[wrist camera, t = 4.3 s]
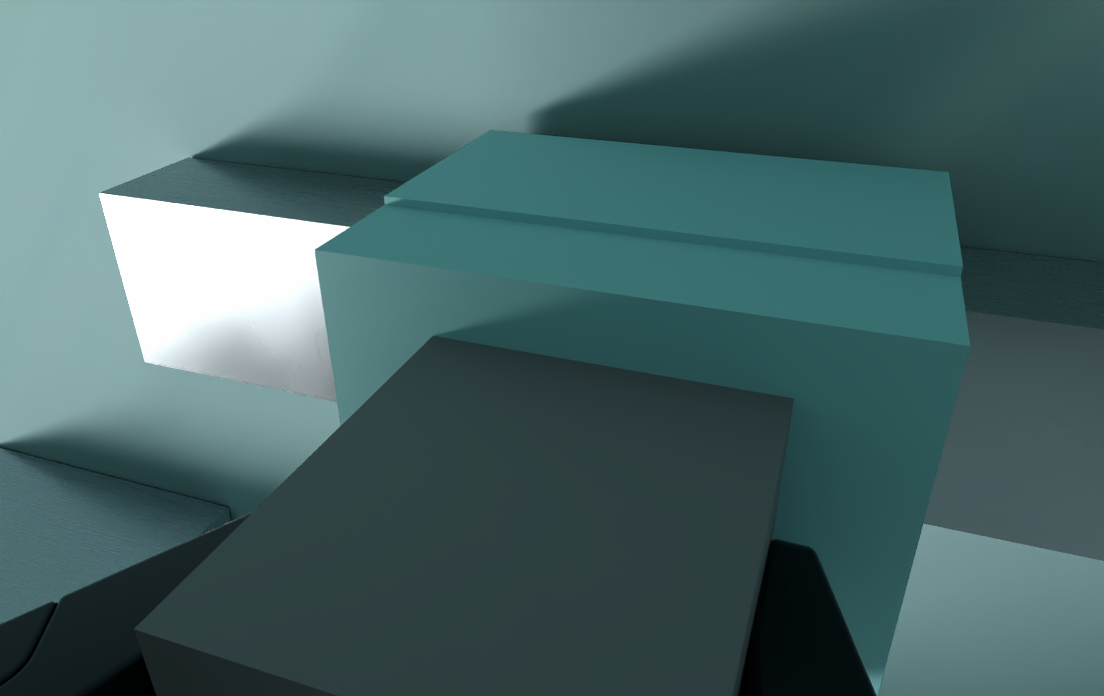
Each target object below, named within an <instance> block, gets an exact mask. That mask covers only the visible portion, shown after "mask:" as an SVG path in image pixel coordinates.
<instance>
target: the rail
mask: <svg viewBox="0 0 1104 696" xmlns="http://www.w3.org/2000/svg"><path fill="white" fill-rule="evenodd" d="M404 183H405V182H396V181H388V180H379V179H370V178H362V177H353V176H344V175H336V174H327V173H318V172H309V171H301V170H292V169H283V168H275V167H266V166H257V165H249V164H240V163H231V162H223V161H214V160H205V159H197V158H186V159H184V160H181V161H179V162H176V163H174V164H171V165H169V166H166V167H164V168H161V169H159V170H156V171H153V172H151V173H148V174H146V175H143V176H141V177H138V178H136V179H133V180H131V181H128V182H126V183H123V184H121V185H118V186H116V187H113V188H111V189H108V190H106V191H103V192H101V193H99V195H100V199H101V203H102V206H103V210H104V214H105V217H106V221H107V225H108V228H109V232H110V236H111V239H112V243H113V247H114V250H115V254H116V258H117V261H118V265H119V269H120V272H121V276H122V280H123V283H124V287H125V291H126V294H127V298H128V302H129V305H130V309H131V313H132V316H133V320H134V324H135V327H136V331H137V335H138V338H139V342H140V346H141V349H142V353H143V357H144V360H145V362H147V363H152V364H157V365H162V366H166V367H171V368H176V369H181V370H186V371H191V372H195V373H200V374H205V375H210V376H215V377H219V378H224V379H229V380H234V381H239V382H244V383H248V384H253V385H258V386H263V387H268V388H273V389H277V390H282V391H287V392H292V393H297V394H302V395H306V396H311V397H316V398H321V399H326V400H331V401H335V402H337V397H336V391H335V384H334V378H333V371H332V364H331V358H330V351H329V344H328V338H327V331H326V324H325V318H324V311H323V304H322V298H321V291H320V284H319V278H318V271H317V265H316V258H315V251H314V250H315V249H316V248H318V247H319V246H321V245H322V244H324V243H326V242H327V241H329V240H330V239H332V238H333V237H335V236H337V235H338V234H340V233H341V232H343V231H344V230H346V229H347V228H349V227H351V226H352V225H354V224H355V223H357V222H358V221H360V220H362V219H363V218H365V217H366V216H368V215H369V214H371V213H373V212H374V211H376V210H377V209H379V208H380V207H382V206H384V205H385V203H384V196H385V195H387V194H388V193H390V192H391V191H393V190H395V189H396V188H398V187H400V186H401V185H403V184H404ZM960 249H961V256H962V263H963V269H962V273H961V283H962V290H963V297H964V305H965V312H966V319H967V326H968V333H969V340H970V349H969V353H968V357H967V360H966V364H965V368H964V372H963V376H962V379H961V383H960V387H959V391H958V394H957V398H956V402H955V406H954V409H953V413H952V417H951V421H950V424H949V428H948V432H947V436H946V439H945V443H944V447H943V451H942V455H941V458H940V462H939V466H938V470H937V473H936V477H935V481H934V485H933V488H932V492H931V496H930V500H929V503H928V507H927V511H926V515H925V518H924V522H923V523H924V524H929V525H934V526H939V527H944V528H948V529H953V530H958V531H963V532H968V533H973V534H977V535H982V536H987V537H992V538H997V539H1001V540H1006V541H1011V542H1016V543H1021V544H1026V545H1030V546H1035V547H1040V548H1045V549H1050V550H1055V551H1059V552H1064V553H1069V554H1074V555H1079V556H1084V557H1088V558H1093V559H1098V560H1103V561H1104V263H1100V262H1091V261H1083V260H1074V259H1065V258H1056V257H1048V256H1039V255H1030V254H1022V253H1013V252H1004V251H996V250H987V249H978V248H970V247H961V246H960Z"/></svg>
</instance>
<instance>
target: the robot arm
mask: <svg viewBox="0 0 1104 696" xmlns="http://www.w3.org/2000/svg"><path fill="white" fill-rule="evenodd" d="M253 512H254V511H253ZM253 512H251V513H248V514H246V515H244V516H242V517H239V518H237V519H235V520H233V521H230V522H228V523H226V524H224V525H221V526H219V527H217V528H215V529H213V530H210V531H208V532H206V533H204V534H201V535H199V536H197V537H195V538H192V539H190V540H188V541H186V542H183V543H181V544H179V545H177V546H174V547H172V548H170V549H168V550H165V551H163V552H161V553H159V554H156V555H154V556H152V557H150V558H147V559H145V560H143V561H141V562H138V563H136V564H134V565H132V566H129V567H127V568H125V569H123V570H121V571H118V572H116V573H114V574H112V575H109V576H107V577H105V578H103V579H100V580H98V581H96V582H94V583H91V584H89V585H87V586H85V587H82V588H80V589H78V590H76V591H73V592H71V593H69V594H67V595H64V596H63V597H61V599H60V600H59V602H56V601H51V602H48V603H46V604H44V605H42V606H39V607H37V608H35V609H33V610H31V611H28V612H26V613H24V614H22V615H19V616H17V617H15V618H13V619H10V620H8V621H6V622H3V623H1V624H0V696H156V693H155V690H154V687H153V684H152V681H151V678H150V675H149V673H148V670H147V667H146V664H145V661H144V658H143V655H142V652H141V649H140V646H139V643H138V640H137V637H136V634H135V631H134V628H135V627H136V626H137V625H138V624H139V623H141V622H142V621H143V620H144V619H145V618H146V617H147V616H148V615H149V614H150V613H151V612H152V611H153V610H154V609H155V608H156V607H157V606H158V605H159V604H160V603H161V602H162V601H163V600H164V599H165V598H166V597H167V596H168V595H169V594H170V593H171V592H172V591H173V590H174V589H175V588H176V587H177V586H178V585H179V584H180V583H181V582H182V581H183V580H184V579H185V578H186V577H187V576H188V575H189V574H190V573H191V572H192V571H194V570H195V569H196V568H197V567H198V566H199V565H200V564H201V563H202V562H203V561H204V560H205V559H206V558H207V557H208V556H209V555H210V554H211V553H212V552H213V551H214V550H215V549H216V548H217V547H218V546H219V545H220V544H221V543H222V542H223V541H224V540H225V539H226V538H227V537H228V536H229V535H230V534H231V533H232V532H233V531H234V530H235V529H236V528H237V527H238V526H239V525H240V524H241V523H242V522H243V521H244V520H245V519H247V518H248V517H249V516H250V515H251V514H252V513H253ZM741 696H877V695H876V692H875V690H874V688H873V685H872V683H871V681H870V678H869V676H868V673H867V671H866V669H865V666H864V664H863V662H862V659H861V657H860V655H859V652H858V650H857V647H856V645H855V643H854V640H853V638H852V636H851V633H850V631H849V628H848V626H847V624H846V621H845V619H844V617H843V614H842V612H841V609H840V607H839V605H838V602H837V600H836V598H835V595H834V593H833V591H832V588H831V586H830V583H829V581H828V579H827V576H826V574H825V572H824V569H823V567H822V564H821V562H820V560H819V557H818V555H817V553H816V552H815V550H814V549H812V548H811V547H809V546H805V545H800V544H796V543H792V542H787V541H783V540H778V539H773V540H771V541H770V545H769V550H768V555H767V559H766V564H765V569H764V574H763V578H762V583H761V588H760V592H759V597H758V602H757V606H756V611H755V616H754V621H753V625H752V630H751V635H750V640H749V646H748V652H747V659H746V665H745V672H744V678H743V685H742V692H741Z"/></svg>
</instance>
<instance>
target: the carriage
mask: <svg viewBox="0 0 1104 696" xmlns="http://www.w3.org/2000/svg"><path fill="white" fill-rule="evenodd" d="M384 203H385V205H384V206H382V207H380V208H379V209H377V210H376V211H374V212H373V213H371V214H369V215H368V216H366V217H365V218H363V219H362V220H360V221H358V222H357V223H355V224H354V225H352V226H351V227H349V228H347V229H346V230H344V231H343V232H341V233H340V234H338V235H337V236H335V237H333V238H332V239H330V240H329V241H327V242H326V243H324V244H322V245H321V246H319V247H318V248H316V249H315V250H314V251H315V258H316V265H317V271H318V278H319V284H320V291H321V298H322V304H323V311H324V318H325V324H326V331H327V338H328V344H329V351H330V358H331V364H332V371H333V378H334V384H335V391H336V397H337V404H338V411H339V417H340V424H341V426H340V427H339V428H338V429H337V430H336V431H335V432H334V433H333V434H332V435H331V436H330V437H329V438H328V439H327V440H326V441H325V442H324V443H323V444H322V445H321V446H320V447H319V448H318V449H317V450H316V451H315V452H314V453H313V454H312V455H311V456H310V457H309V458H308V459H307V460H306V461H305V462H304V463H303V464H302V465H301V466H300V467H299V468H297V469H296V470H295V471H294V472H293V473H292V474H291V475H290V476H289V477H288V478H287V479H286V480H285V481H284V482H283V483H282V484H281V485H280V486H279V487H278V488H277V489H276V490H275V491H274V492H273V493H272V494H271V495H270V496H269V497H268V498H267V499H266V500H265V501H264V502H263V503H262V504H261V505H260V506H259V507H258V508H257V509H256V510H255V511H254V512H253V513H252V514H251V515H250V516H249V517H248V518H247V519H245V520H244V521H243V522H242V523H241V524H240V525H239V526H238V527H237V528H236V529H235V530H234V531H233V532H232V533H231V534H230V535H229V536H228V537H227V538H226V539H225V540H224V541H223V542H222V543H221V544H220V545H219V546H218V547H217V548H216V549H215V550H214V551H213V552H212V553H211V554H210V555H209V556H208V557H207V558H206V559H205V560H204V561H203V562H202V563H201V564H200V565H199V566H198V567H197V568H196V569H195V570H194V571H192V572H191V573H190V574H189V575H188V576H187V577H186V578H185V579H184V580H183V581H182V582H181V583H180V584H179V585H178V586H177V587H176V588H175V589H174V590H173V591H172V592H171V593H170V594H169V595H168V596H167V597H166V598H165V599H164V600H163V601H162V602H161V603H160V604H159V605H158V606H157V607H156V608H155V609H154V610H153V611H152V612H151V613H150V614H149V615H148V616H147V617H146V618H145V619H144V620H143V621H142V622H141V623H139V624H138V625H137V626H136V627H135V628H134V631H135V634H136V637H137V640H138V643H139V646H140V649H141V652H142V655H143V658H144V661H145V664H146V667H147V670H148V673H149V675H150V678H151V681H152V684H153V687H154V690H155V693H156V696H741V692H742V685H743V678H744V672H745V665H746V659H747V652H748V646H749V640H750V635H751V630H752V625H753V621H754V616H755V611H756V606H757V602H758V597H759V592H760V588H761V583H762V578H763V574H764V569H765V564H766V559H767V555H768V550H769V545H770V541H771V540H773V539H778V540H783V541H787V542H792V543H796V544H800V545H805V546H809V547H811V548H812V549H814V550H815V552H816V553H817V555H818V557H819V560H820V562H821V564H822V567H823V569H824V572H825V574H826V576H827V579H828V581H829V583H830V586H831V588H832V591H833V593H834V595H835V598H836V600H837V602H838V605H839V607H840V609H841V612H842V614H843V617H844V619H845V621H846V624H847V626H848V628H849V631H850V633H851V636H852V638H853V640H854V643H855V645H856V647H857V650H858V652H859V655H860V657H861V659H862V662H863V664H864V666H865V669H866V671H867V673H868V676H869V678H870V681H871V683H872V685H873V688H874V690H875V692H876V695H878V692H879V688H880V684H881V680H882V676H883V673H884V669H885V665H886V661H887V658H888V654H889V650H890V646H891V643H892V639H893V635H894V631H895V628H896V624H897V620H898V616H899V613H900V609H901V605H902V601H903V597H904V594H905V590H906V586H907V582H908V579H909V575H910V571H911V567H912V564H913V560H914V556H915V552H916V549H917V545H918V541H919V537H920V534H921V530H922V526H923V522H924V518H925V515H926V511H927V507H928V503H929V500H930V496H931V492H932V488H933V485H934V481H935V477H936V473H937V470H938V466H939V462H940V458H941V455H942V451H943V447H944V443H945V439H946V436H947V432H948V428H949V424H950V421H951V417H952V413H953V409H954V406H955V402H956V398H957V394H958V391H959V387H960V383H961V379H962V376H963V372H964V368H965V364H966V360H967V357H968V353H969V349H970V340H969V333H968V326H967V319H966V312H965V305H964V297H963V290H962V283H961V273H962V269H963V263H962V256H961V249H960V243H959V236H958V229H957V223H956V216H955V210H954V203H953V196H952V190H951V183H950V176H949V172H942V171H931V170H920V169H909V168H898V167H888V166H877V165H866V164H855V163H844V162H833V161H822V160H811V159H800V158H789V157H778V156H767V155H756V154H745V153H734V152H723V151H713V150H702V149H691V148H680V147H669V146H658V145H647V144H636V143H625V142H614V141H603V140H592V139H581V138H570V137H559V136H548V135H538V134H527V133H516V132H505V131H494V130H490V131H488V132H487V133H485V134H483V135H482V136H480V137H479V138H477V139H475V140H474V141H472V142H470V143H469V144H467V145H466V146H464V147H462V148H461V149H459V150H458V151H456V152H454V153H453V154H451V155H450V156H448V157H446V158H445V159H443V160H441V161H440V162H438V163H437V164H435V165H433V166H432V167H430V168H429V169H427V170H425V171H424V172H422V173H420V174H419V175H417V176H416V177H414V178H412V179H411V180H409V181H408V182H406V183H404V184H403V185H401V186H400V187H398V188H396V189H395V190H393V191H391V192H390V193H388V194H387V195H385V196H384Z"/></svg>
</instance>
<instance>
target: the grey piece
mask: <svg viewBox="0 0 1104 696" xmlns="http://www.w3.org/2000/svg"><path fill="white" fill-rule="evenodd" d="M230 521H231V517H230V513H229V509H228V507H225V506H221V505H217V504H214V503H210V502H206V501H202V500H198V499H194V498H191V497H187V496H183V495H179V494H175V493H172V492H168V491H164V490H160V489H156V488H152V487H149V486H145V485H141V484H137V483H133V482H129V481H126V480H122V479H118V478H114V477H110V476H106V475H103V474H99V473H95V472H91V471H87V470H84V469H80V468H76V467H72V466H68V465H64V464H61V463H57V462H53V461H49V460H45V459H41V458H38V457H34V456H30V455H26V454H22V453H18V452H15V451H11V450H7V449H3V448H0V624H1V623H3V622H6V621H8V620H10V619H13V618H15V617H17V616H19V615H22V614H24V613H26V612H28V611H31V610H33V609H35V608H37V607H39V606H42V605H44V604H46V603H48V602H51V601H56V602H59V600H60V599H61V597H63V596H64V595H67V594H69V593H71V592H73V591H76V590H78V589H80V588H82V587H85V586H87V585H89V584H91V583H94V582H96V581H98V580H100V579H103V578H105V577H107V576H109V575H112V574H114V573H116V572H118V571H121V570H123V569H125V568H127V567H129V566H132V565H134V564H136V563H138V562H141V561H143V560H145V559H147V558H150V557H152V556H154V555H156V554H159V553H161V552H163V551H165V550H168V549H170V548H172V547H174V546H177V545H179V544H181V543H183V542H186V541H188V540H190V539H192V538H195V537H197V536H199V535H201V534H204V533H206V532H208V531H210V530H213V529H215V528H217V527H219V526H221V525H224V524H226V523H228V522H230Z"/></svg>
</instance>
